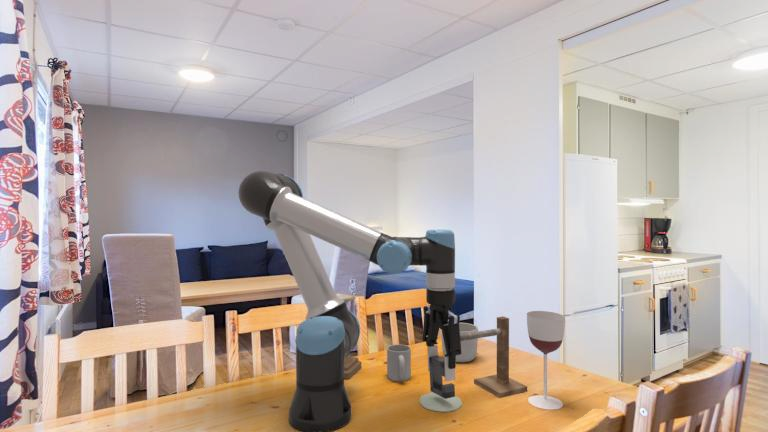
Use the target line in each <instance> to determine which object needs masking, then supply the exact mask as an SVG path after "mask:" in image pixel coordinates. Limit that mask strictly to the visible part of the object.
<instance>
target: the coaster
mask: <svg viewBox="0 0 768 432" xmlns="http://www.w3.org/2000/svg"><path fill="white" fill-rule="evenodd" d="M462 404H463V402H462V399H460V398H459V396H456V395H455V397H451V398H447V399H445V398H443V397H441V396H439V395H437V394H435V393H433V392H428V393H425V394H423V395H422V396H421V397H420V398H419V405H420V406H421V407H422V408H423V409H426V410H428V411H432V412H436V413H450V412H455V411H457V410H459V409H460V408H461V407H462Z"/></svg>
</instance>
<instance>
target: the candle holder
mask: <svg viewBox="0 0 768 432" xmlns="http://www.w3.org/2000/svg"><path fill="white" fill-rule="evenodd" d="M335 294H336V296H337V297H338V298H340V299H342V300H344V301H345V303H346V306H348V304H349V302H351V301H354V300H355V299H356V295H355V294H353V293H349V292H347V293H346V292H335ZM361 369H362V361H359V358H358V357H356V356H351V355H350V353H349V354H348V355H347V356H346V357H345V359H344V380H350V379H351V378H352V377H354V375H356V374H357V372H358V371H360V370H361Z"/></svg>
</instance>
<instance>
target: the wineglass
mask: <svg viewBox="0 0 768 432" xmlns="http://www.w3.org/2000/svg"><path fill="white" fill-rule="evenodd" d="M565 325H566V316H565V315H563V314H560V313H557V312H552V311H546V310H532V311H531V310H530V311H528V312H526V326H527V332H528V333H527V335H528V337H529V341H530V343H531V345H533V347H534V348H535V349H537V350H538V351H540V352H541V353H543V394H540V395H539V394H538V395H537V394H536V395H531V396H530V397H528V399H527V400H528V403H529V404H531V405H532V406H534V407H536V408H539V409H544V410H558V409H561V408H562V407H563V406H564V404H563V402H562V401H561V400H560V399H558V398H556V397H552V396H549V395H548V354H550V353H553V352H556V351H557V350H558V349H559V348H560V347H561V346H562V344H563V340H564V335H565Z"/></svg>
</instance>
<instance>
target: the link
mask: <svg viewBox="0 0 768 432" xmlns="http://www.w3.org/2000/svg"><path fill="white" fill-rule="evenodd" d="M429 369H430V371H429V385H430V386H429V387H430V393H435V394H437V395H439V396H441V397H443V398H445V399H447V398H451V397H455V396H456V390H455V389H456V388H455V387H456V386H455V385H456V384H454V383H451V382H450V383H445V384H443V378H445V357H444V356H441V355H440V354H438V355H437V356H431V357H429Z"/></svg>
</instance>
